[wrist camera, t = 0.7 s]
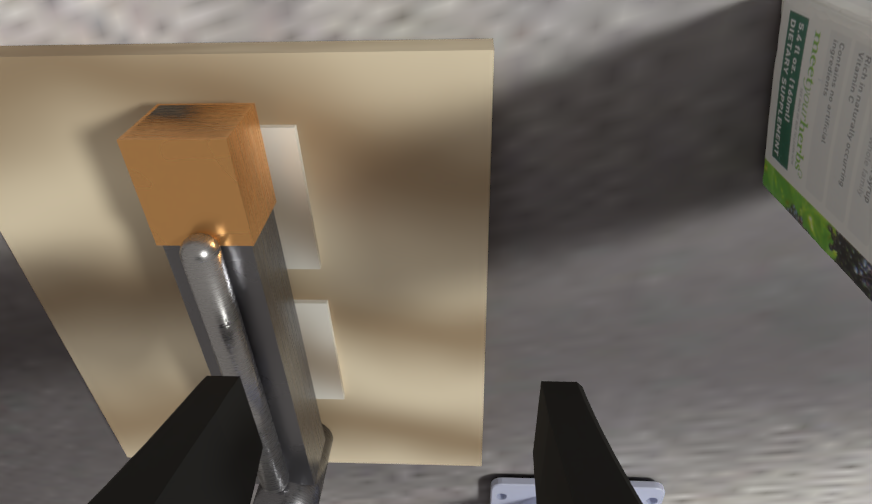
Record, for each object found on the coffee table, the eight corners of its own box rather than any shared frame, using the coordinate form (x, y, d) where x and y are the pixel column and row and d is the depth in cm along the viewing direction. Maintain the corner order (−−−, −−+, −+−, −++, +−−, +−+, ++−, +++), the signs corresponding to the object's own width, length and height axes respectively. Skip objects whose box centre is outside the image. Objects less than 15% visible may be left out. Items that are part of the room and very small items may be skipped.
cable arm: (338, 453, 25) (317, 555, 22) (280, 452, 25) (249, 553, 22) (263, 91, 16) (203, 167, 12) (170, 92, 16) (84, 168, 12)
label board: (481, 446, 26) (481, 472, 25) (137, 438, 27) (124, 462, 26) (492, 38, 16) (494, 53, 15) (-70, 47, 17) (-106, 61, 16)
